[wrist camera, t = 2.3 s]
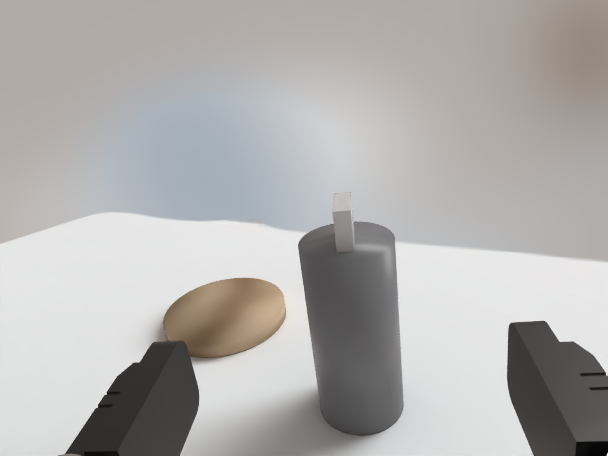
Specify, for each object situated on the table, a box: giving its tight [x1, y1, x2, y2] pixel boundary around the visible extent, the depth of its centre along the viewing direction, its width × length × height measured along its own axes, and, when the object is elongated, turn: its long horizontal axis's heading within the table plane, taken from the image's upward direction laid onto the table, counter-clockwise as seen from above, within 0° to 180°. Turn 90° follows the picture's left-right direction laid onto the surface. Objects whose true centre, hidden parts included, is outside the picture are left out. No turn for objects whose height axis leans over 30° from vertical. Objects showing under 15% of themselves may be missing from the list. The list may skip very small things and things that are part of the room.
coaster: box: [163, 278, 286, 357], centre depth 36 cm, size 9×9×1 cm
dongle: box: [298, 192, 404, 435], centre depth 25 cm, size 5×5×12 cm
